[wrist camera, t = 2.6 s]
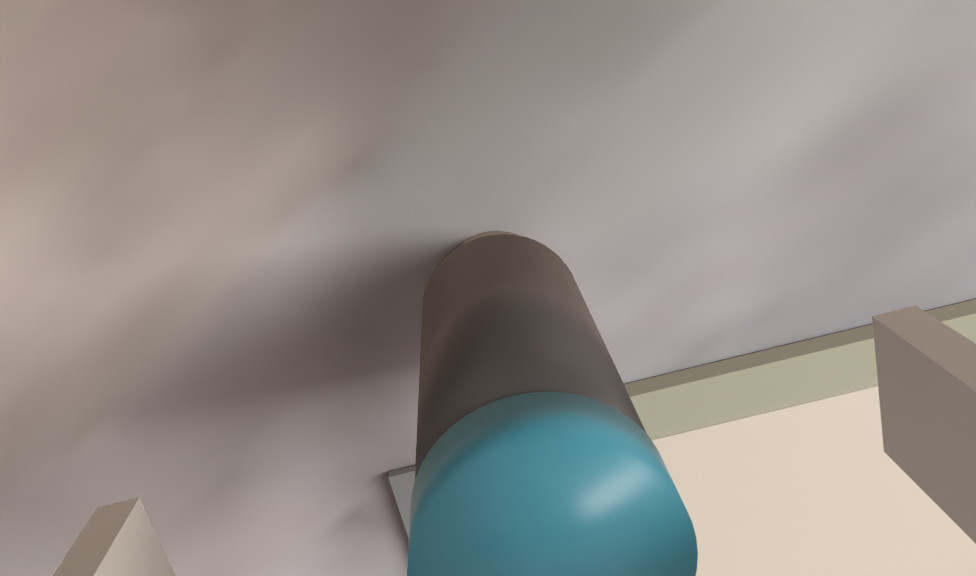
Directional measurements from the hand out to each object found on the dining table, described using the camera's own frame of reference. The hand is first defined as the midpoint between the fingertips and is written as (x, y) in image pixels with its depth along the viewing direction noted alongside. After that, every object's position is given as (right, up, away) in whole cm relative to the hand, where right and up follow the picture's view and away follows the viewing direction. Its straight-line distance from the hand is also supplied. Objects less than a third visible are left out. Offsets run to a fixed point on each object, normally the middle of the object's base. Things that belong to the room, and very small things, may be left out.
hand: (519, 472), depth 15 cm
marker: (0, +3, +8) cm, 9 cm away
